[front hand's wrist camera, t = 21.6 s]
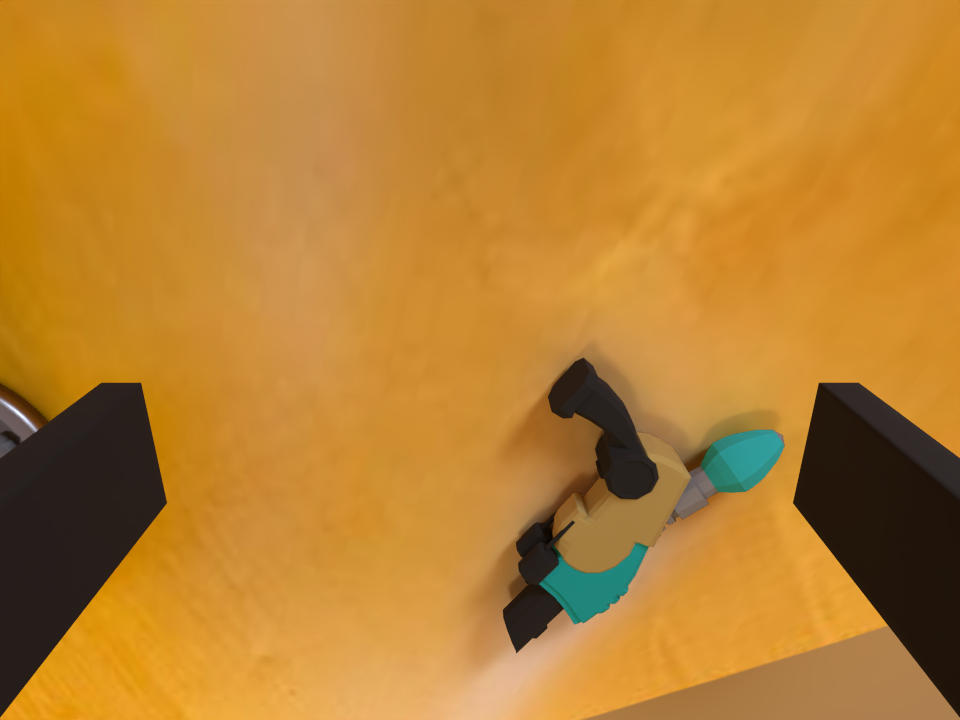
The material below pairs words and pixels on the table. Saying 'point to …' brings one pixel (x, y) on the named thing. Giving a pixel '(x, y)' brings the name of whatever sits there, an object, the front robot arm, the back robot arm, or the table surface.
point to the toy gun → (619, 507)
